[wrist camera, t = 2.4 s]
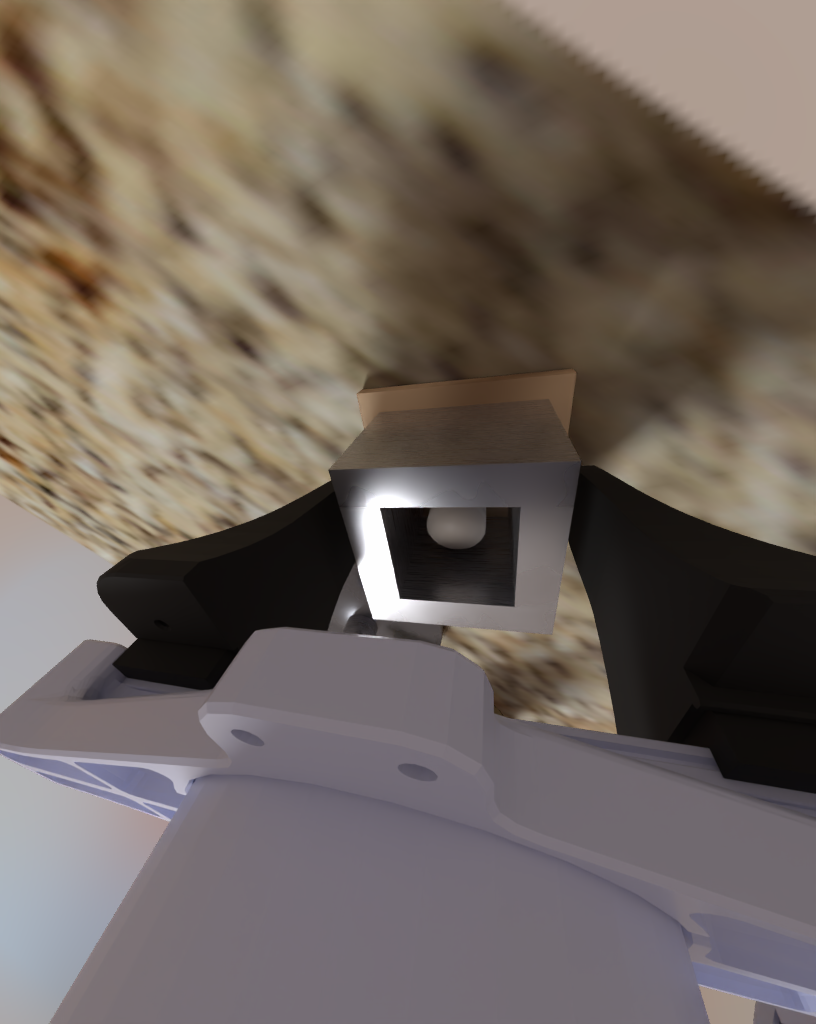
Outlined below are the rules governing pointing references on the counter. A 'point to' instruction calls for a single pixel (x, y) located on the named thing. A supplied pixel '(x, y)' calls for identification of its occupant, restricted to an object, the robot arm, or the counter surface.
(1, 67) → the counter surface
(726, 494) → the counter surface
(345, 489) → the square metal tube
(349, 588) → the hub
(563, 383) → the stand
